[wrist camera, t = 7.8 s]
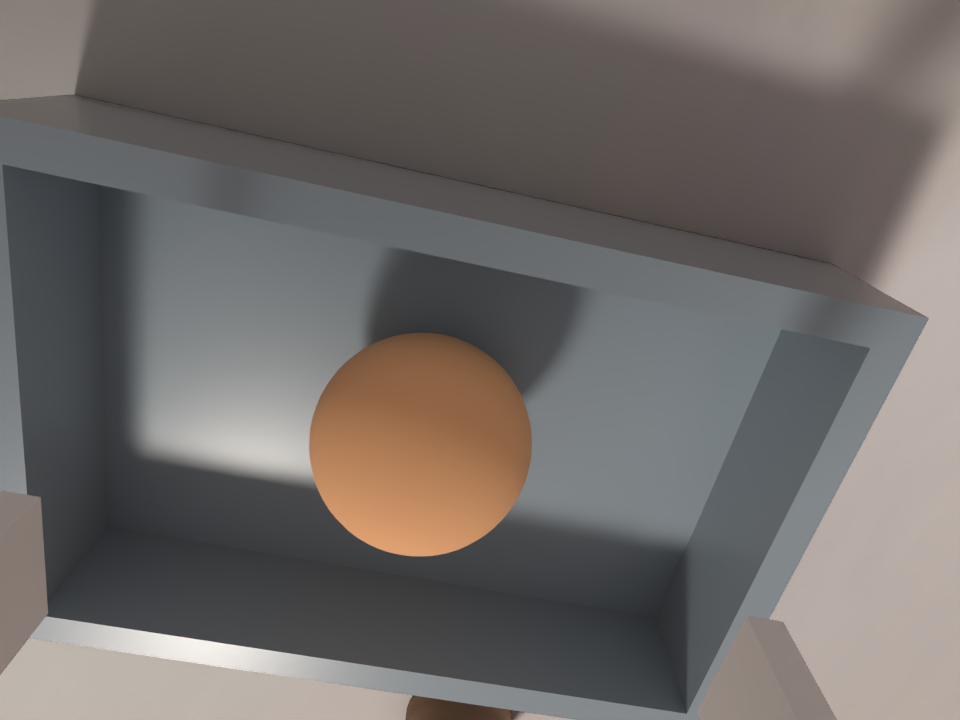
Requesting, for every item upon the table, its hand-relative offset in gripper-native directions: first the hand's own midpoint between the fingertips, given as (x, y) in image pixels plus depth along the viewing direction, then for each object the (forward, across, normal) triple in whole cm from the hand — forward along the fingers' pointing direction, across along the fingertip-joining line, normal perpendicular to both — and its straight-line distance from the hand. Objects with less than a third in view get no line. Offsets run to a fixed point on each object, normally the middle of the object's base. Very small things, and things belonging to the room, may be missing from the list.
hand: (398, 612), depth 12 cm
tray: (+10, 0, -1) cm, 10 cm away
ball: (+9, 0, 0) cm, 9 cm away
